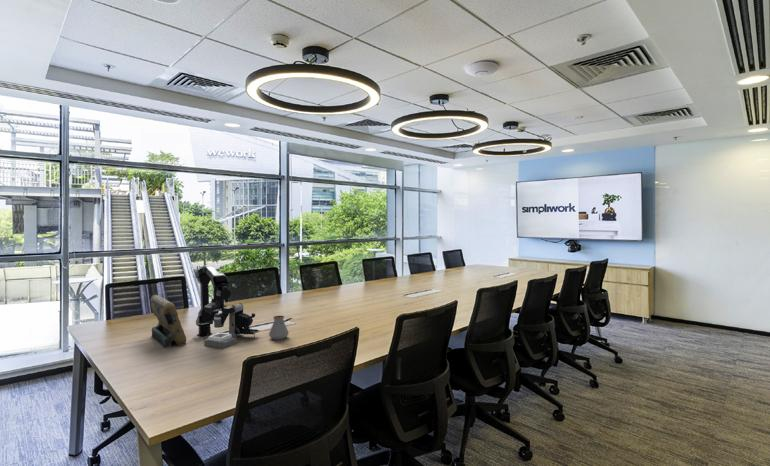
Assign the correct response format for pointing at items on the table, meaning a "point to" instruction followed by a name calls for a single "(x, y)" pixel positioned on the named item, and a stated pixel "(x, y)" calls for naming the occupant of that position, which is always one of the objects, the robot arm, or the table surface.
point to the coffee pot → (279, 328)
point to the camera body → (220, 340)
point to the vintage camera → (240, 322)
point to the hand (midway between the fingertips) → (219, 324)
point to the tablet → (166, 322)
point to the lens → (217, 320)
